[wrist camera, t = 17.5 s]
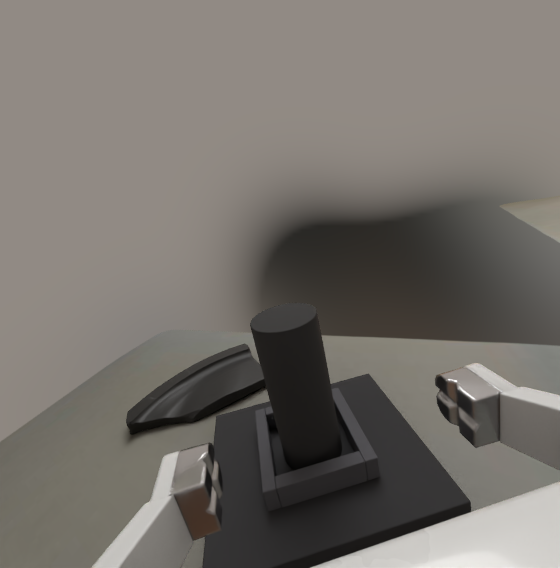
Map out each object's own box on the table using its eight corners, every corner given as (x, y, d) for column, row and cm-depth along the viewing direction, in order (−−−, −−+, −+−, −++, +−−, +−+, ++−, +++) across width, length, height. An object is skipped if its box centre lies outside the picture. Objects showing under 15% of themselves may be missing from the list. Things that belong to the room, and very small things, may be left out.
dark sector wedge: (133, 400, 32) (128, 387, 32) (248, 353, 37) (245, 342, 36) (127, 453, 25) (121, 437, 24) (273, 386, 29) (269, 372, 29)
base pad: (205, 605, 14) (190, 570, 13) (219, 425, 25) (211, 401, 25) (471, 515, 15) (470, 479, 14) (369, 382, 27) (366, 358, 26)
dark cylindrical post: (294, 485, 18) (256, 340, 15) (277, 438, 21) (245, 314, 19) (353, 459, 18) (328, 317, 16) (327, 418, 22) (303, 297, 19)
